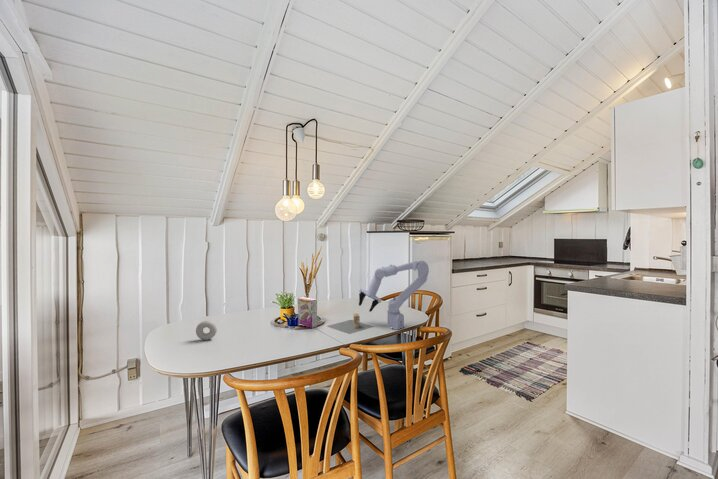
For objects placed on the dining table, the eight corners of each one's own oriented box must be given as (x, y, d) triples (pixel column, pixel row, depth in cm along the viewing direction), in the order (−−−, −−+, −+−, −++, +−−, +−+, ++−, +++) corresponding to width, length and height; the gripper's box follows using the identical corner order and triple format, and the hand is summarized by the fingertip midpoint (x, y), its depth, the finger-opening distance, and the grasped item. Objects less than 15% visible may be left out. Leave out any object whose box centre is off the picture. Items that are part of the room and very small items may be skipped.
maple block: (358, 325, 199) (358, 313, 198) (359, 328, 193) (359, 316, 192) (353, 325, 198) (353, 313, 198) (354, 328, 192) (354, 316, 192)
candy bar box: (297, 325, 199) (297, 298, 198) (303, 323, 203) (303, 296, 202) (311, 328, 193) (311, 300, 192) (317, 326, 197) (317, 299, 196)
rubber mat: (374, 327, 196) (374, 326, 196) (349, 334, 182) (349, 334, 182) (351, 320, 210) (351, 319, 210) (326, 326, 196) (326, 326, 196)
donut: (195, 341, 170) (194, 322, 169) (196, 339, 173) (196, 320, 173) (216, 340, 172) (216, 321, 172) (217, 338, 176) (217, 319, 175)
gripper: (360, 282, 198) (352, 303, 199) (381, 293, 191) (372, 314, 192) (365, 282, 204) (357, 302, 205) (386, 292, 198) (377, 313, 199)
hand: (364, 308), depth 199 cm, fingers open, 7 cm apart
